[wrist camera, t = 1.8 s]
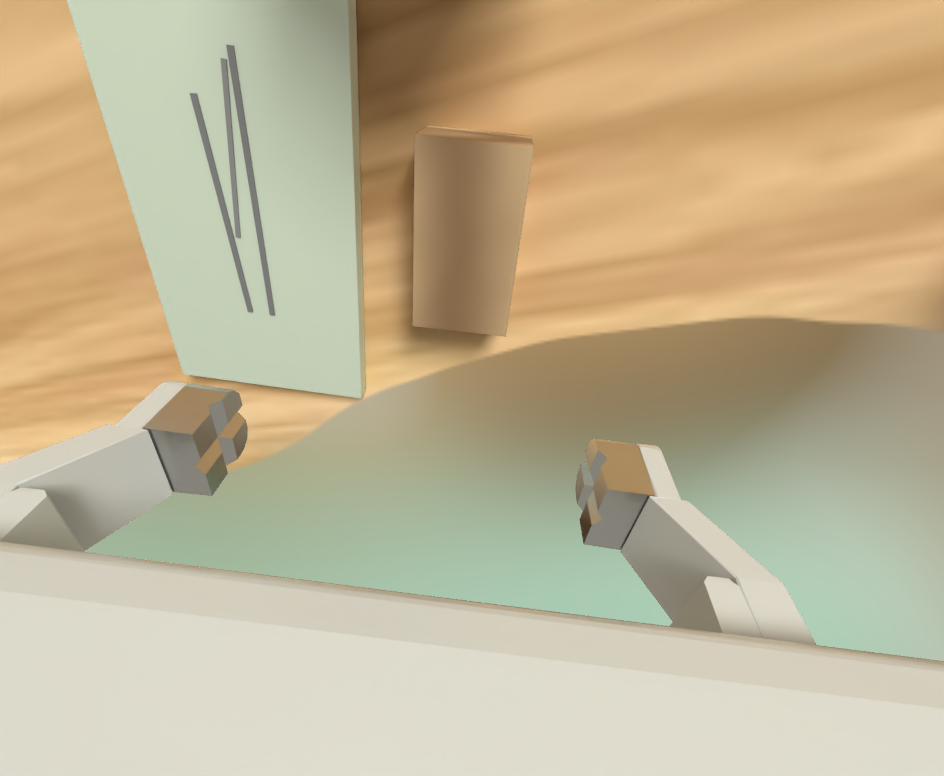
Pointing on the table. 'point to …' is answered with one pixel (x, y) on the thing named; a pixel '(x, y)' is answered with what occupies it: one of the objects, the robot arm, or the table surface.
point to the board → (242, 178)
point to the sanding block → (467, 226)
